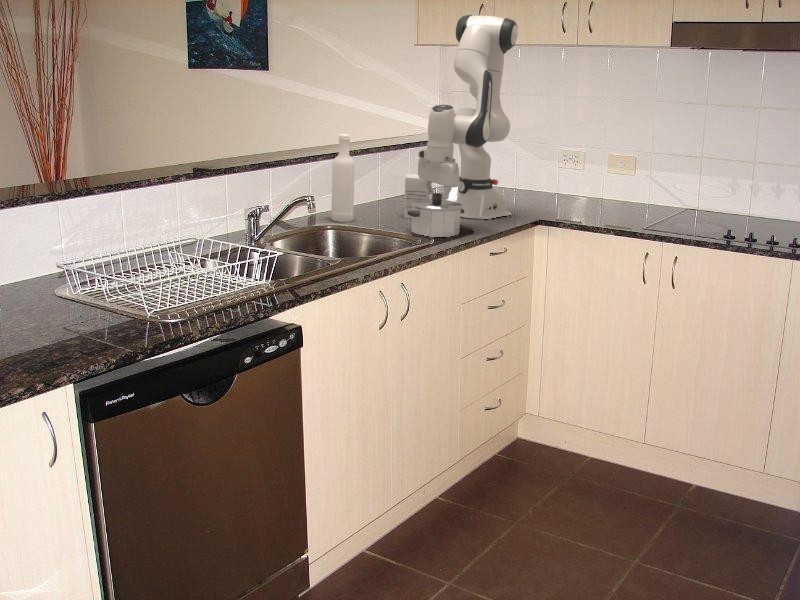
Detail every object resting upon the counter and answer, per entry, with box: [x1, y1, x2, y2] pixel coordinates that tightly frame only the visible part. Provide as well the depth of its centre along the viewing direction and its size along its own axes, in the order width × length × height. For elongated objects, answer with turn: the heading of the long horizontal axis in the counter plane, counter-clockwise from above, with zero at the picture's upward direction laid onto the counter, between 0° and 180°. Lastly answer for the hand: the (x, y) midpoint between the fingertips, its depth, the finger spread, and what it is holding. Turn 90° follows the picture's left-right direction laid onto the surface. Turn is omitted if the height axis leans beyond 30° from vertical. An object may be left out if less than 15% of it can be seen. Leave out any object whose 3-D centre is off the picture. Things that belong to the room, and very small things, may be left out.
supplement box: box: [403, 173, 430, 219], centre depth 322 cm, size 9×9×15 cm
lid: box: [411, 192, 462, 211], centre depth 297 cm, size 17×17×6 cm
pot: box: [408, 207, 464, 238], centre depth 299 cm, size 20×16×9 cm
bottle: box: [330, 133, 356, 223], centre depth 308 cm, size 8×8×30 cm
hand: (437, 196), depth 296 cm, fingers open, 8 cm apart
